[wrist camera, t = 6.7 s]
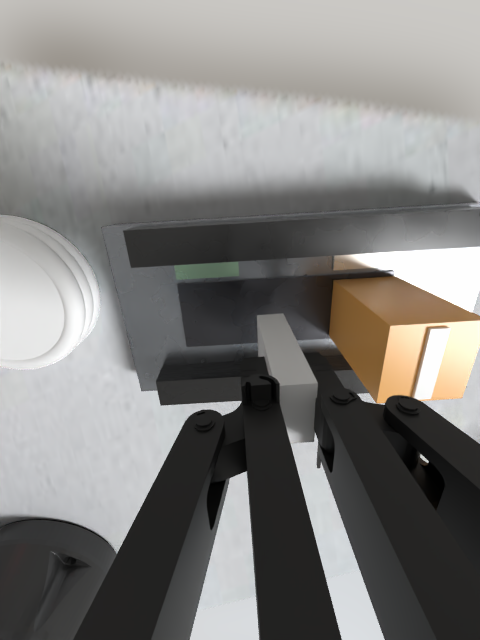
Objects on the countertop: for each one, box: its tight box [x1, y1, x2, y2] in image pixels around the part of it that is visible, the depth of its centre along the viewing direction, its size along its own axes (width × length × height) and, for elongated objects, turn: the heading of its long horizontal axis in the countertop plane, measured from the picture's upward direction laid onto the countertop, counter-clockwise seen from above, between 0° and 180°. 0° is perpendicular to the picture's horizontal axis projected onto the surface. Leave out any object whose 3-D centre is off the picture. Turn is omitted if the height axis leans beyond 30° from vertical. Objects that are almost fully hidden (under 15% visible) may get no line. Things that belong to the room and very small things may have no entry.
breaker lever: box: [329, 276, 480, 403], centre depth 15 cm, size 4×4×7 cm
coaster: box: [0, 215, 101, 370], centre depth 18 cm, size 10×10×4 cm
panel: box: [101, 202, 480, 405], centre depth 19 cm, size 24×12×4 cm, turn 93°
